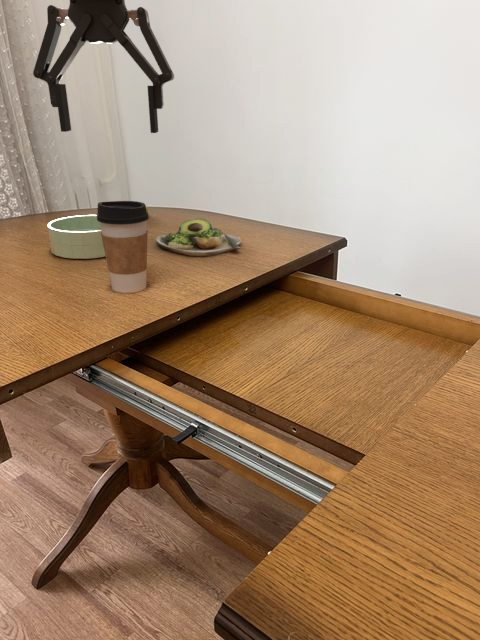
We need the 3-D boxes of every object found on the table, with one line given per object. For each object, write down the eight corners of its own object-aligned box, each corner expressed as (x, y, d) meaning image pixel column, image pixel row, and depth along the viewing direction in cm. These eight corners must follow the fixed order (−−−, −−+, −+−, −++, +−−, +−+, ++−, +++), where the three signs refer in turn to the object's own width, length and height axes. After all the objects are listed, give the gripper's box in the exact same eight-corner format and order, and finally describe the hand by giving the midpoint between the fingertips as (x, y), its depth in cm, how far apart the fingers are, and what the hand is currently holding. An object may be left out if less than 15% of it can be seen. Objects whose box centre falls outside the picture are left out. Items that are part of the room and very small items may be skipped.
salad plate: (264, 248, 121) (265, 228, 119) (204, 265, 109) (203, 243, 107) (206, 232, 132) (205, 213, 130) (146, 246, 121) (144, 225, 119)
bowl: (41, 261, 109) (36, 231, 107) (64, 241, 123) (60, 214, 120) (117, 262, 110) (114, 232, 107) (131, 242, 124) (129, 215, 121)
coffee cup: (95, 287, 96) (85, 201, 90) (136, 277, 102) (129, 195, 95) (121, 300, 91) (112, 210, 84) (163, 289, 96) (157, 203, 90)
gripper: (-10, -42, 71) (19, 132, 80) (181, -38, 72) (188, 134, 81) (13, -31, 78) (37, 128, 87) (187, -27, 78) (193, 130, 88)
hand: (110, 131), depth 84 cm, fingers open, 13 cm apart
